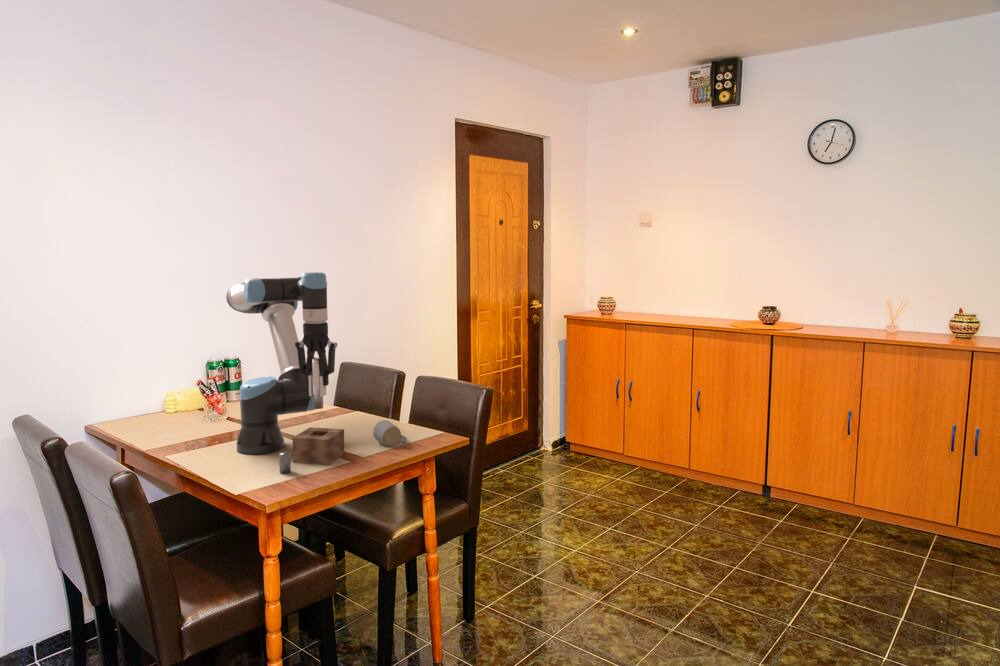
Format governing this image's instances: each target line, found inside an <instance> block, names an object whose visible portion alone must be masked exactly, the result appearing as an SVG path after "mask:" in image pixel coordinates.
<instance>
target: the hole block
mask: <svg viewBox="0 0 1000 666" xmlns="http://www.w3.org/2000/svg"><path fill="white" fill-rule="evenodd" d="M345 443H346V442H345V429H343V428H326V427H324V428H323V427H308V428H306V429H305V430H303V431H302V432H300V433H298V434H295V436H293V437H292V456H293V457H292V458H293V460H292V461H293V462H292V463H295V464H296V463H299V464H312V465H313V464H314V465H328V466H329V465H331V464H332V463H334V462H335V461H336V460H338V459H339V458H340V457H342V456H343V455H344V454H345V453H346V450H345V448H346V447H345V445H346V444H345Z"/></svg>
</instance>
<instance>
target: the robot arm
mask: <svg viewBox="0 0 1000 666" xmlns="http://www.w3.org/2000/svg"><path fill="white" fill-rule="evenodd" d="M226 292H227V293H226V295H225V296H226V297H225V298H226V302H227V304H228V306H229V307H230V308H231V309H232V310H235V312H238V313H243V314H250V315H251V314H254V315H255V314H261V317H262V319H263V320H264V321H265V322H268V327H269V330H270V334H271V339H272V341H273V345H274V350H275V355H276V357H277V363H278V365H279V370H280V371H279V372H280V375H279V376H278V377H277V378H278V379H277V378H276V377H274V376H261V377H255V378H252V379H248V380H246V381H245V382H243V383H242V384H241V385H240V387H239V397H238V399H239V405H240V406H239V407H240V410H239V411H240V425H241V426H240V429H239V432H238V433H239V434H238V438H237V440H236V451H237V452H239V453H240V454H245V455H260V454H261V455H262V454H268V453H274V452H277V451H279V450H281V449H283V448H284V447H285V438H284V436H283V433H282V431H281V428H280V426H279V419H278V418H279V415H288V414H289V415H290V414H297V413H307V412H311V411H315V410H316V409H313V393H312V363H311V358H315V353H317V355H318V357H319V360H320V365H321V371H322V375H321V376H320V395H321V396H322V397H323V398H324V396H326V395H327V387H328V385H329V382H330V381H329V380H330V379H329V377H330V376H329V375H331V374H333V373H335V364H336V363H335V361H336V349H337V347H338V342H333V341H331V340H330V338H329V323H328V322H327V321H328V320H329V318H328V316H329V315H328V282H327V275H326V273H324V272H319V271H318V272H317V271H316V272H315V271H314V272H312V271H311V272H303V273H302V274H301V276H298V277H283V278H281V277H278V278H275V277H274V278H257V277H255V278H247V279H246V280H244V282H240V283H236V284H234V285H232V286H231V287H230V288H229V289H228V290H227V291H226ZM299 302H302V303H301V304H302V321H303V323H302V332H303V333H302V334H303V338H302V340H299V337H298V334H297V329H296V326H295V322H294V318H293V317H294V315H295V313H296V310H297V309H298V305H299ZM305 347H306V351H305ZM326 347H328V353H327V351H326ZM326 353H327V354H326ZM327 355H328V357H327Z"/></svg>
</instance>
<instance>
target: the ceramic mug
mask: <svg viewBox="0 0 1000 666" xmlns="http://www.w3.org/2000/svg"><path fill="white" fill-rule="evenodd" d="M372 433H373V437H374V439H375V440H376V441H378V442H379V443H381V444H383V445H385V446H387V447H395V446H396V445H398V444H399V443H400V442H402V443H406V442H407V440H408V437H406V436H404V435H403V434H402V432H401V429H400V428H399V427H398V426H396V425H395V424H393V422H391V421H389V420H386V419H385V420H381V421H378V422H377V423H376V424H375V426H374V428H373V432H372Z"/></svg>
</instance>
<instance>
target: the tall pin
mask: <svg viewBox="0 0 1000 666" xmlns="http://www.w3.org/2000/svg"><path fill="white" fill-rule="evenodd" d="M311 363H312V393H313V409H315V410H321V409H324V396H323V397H322V396H321V395H320V376H321V375H322V371H321V365H320V360H319V356H318V357H314V358H311Z"/></svg>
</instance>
